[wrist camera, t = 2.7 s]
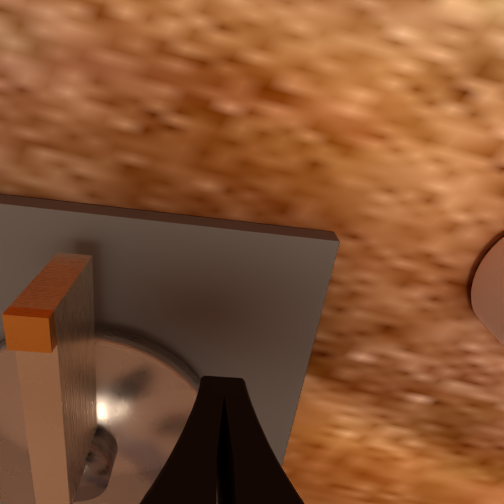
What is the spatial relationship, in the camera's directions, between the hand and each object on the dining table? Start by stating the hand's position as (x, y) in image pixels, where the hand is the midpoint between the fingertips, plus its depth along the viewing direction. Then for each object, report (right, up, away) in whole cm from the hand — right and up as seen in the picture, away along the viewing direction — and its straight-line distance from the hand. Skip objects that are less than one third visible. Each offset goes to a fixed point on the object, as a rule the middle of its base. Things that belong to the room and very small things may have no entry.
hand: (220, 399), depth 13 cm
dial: (-7, -2, +6) cm, 9 cm away
